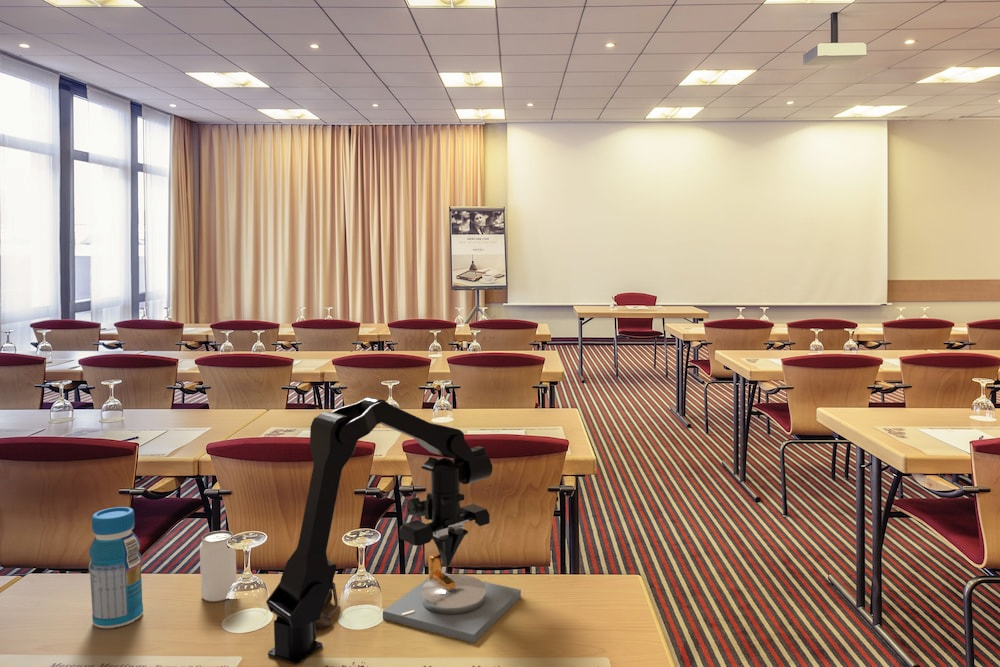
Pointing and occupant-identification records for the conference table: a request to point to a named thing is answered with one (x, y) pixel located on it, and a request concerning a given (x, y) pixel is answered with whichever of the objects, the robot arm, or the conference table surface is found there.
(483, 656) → the conference table surface
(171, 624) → the conference table surface
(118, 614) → the beverage bottle
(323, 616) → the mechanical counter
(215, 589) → the can
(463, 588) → the dial
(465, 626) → the dial plate
